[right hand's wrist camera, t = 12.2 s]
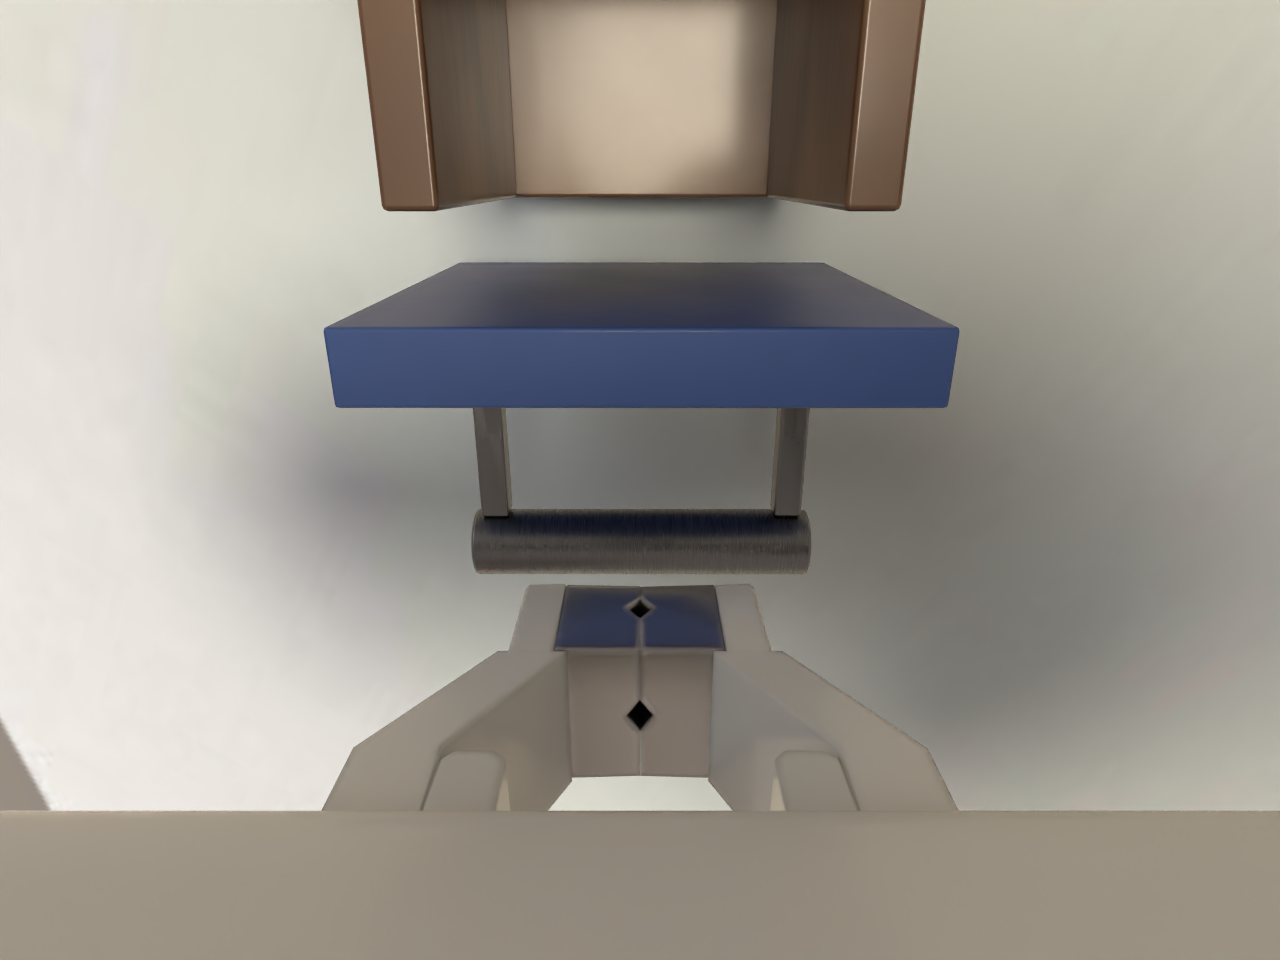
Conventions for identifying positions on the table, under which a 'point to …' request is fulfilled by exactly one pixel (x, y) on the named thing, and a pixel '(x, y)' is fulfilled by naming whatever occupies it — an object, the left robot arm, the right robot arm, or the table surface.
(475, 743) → the right robot arm
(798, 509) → the drawer
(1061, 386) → the table surface
